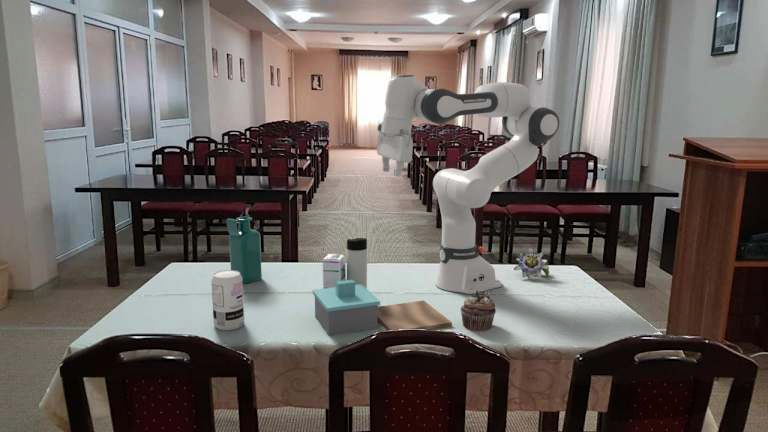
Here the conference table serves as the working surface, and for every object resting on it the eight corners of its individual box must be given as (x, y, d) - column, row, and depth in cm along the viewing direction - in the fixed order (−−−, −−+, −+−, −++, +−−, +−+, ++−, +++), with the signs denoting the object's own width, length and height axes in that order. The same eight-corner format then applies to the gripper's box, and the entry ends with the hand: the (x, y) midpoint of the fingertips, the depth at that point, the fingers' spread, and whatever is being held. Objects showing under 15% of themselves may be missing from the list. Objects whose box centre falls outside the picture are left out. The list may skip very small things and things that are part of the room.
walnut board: (423, 304, 178) (423, 300, 177) (451, 326, 161) (451, 322, 161) (369, 311, 171) (369, 307, 171) (392, 335, 155) (392, 331, 155)
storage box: (360, 310, 172) (360, 288, 171) (377, 328, 160) (377, 304, 158) (315, 316, 167) (314, 293, 166) (328, 335, 154) (328, 310, 153)
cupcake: (490, 318, 167) (492, 286, 165) (497, 332, 158) (499, 298, 155) (457, 318, 167) (458, 286, 165) (463, 332, 157) (464, 298, 155)
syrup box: (341, 305, 176) (341, 259, 173) (322, 303, 177) (322, 258, 174) (346, 298, 182) (346, 254, 179) (328, 297, 183) (327, 253, 180)
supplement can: (217, 320, 164) (214, 269, 161) (246, 319, 165) (244, 269, 161) (211, 331, 156) (208, 279, 153) (242, 331, 157) (239, 278, 153)
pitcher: (247, 273, 205) (245, 213, 200) (264, 278, 200) (262, 216, 195) (225, 280, 197) (222, 218, 192) (242, 286, 192) (239, 221, 187)
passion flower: (529, 293, 204) (512, 269, 200) (522, 278, 214) (506, 254, 210) (557, 278, 201) (541, 252, 197) (549, 263, 211) (533, 238, 207)
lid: (361, 290, 172) (361, 271, 170) (379, 308, 158) (380, 287, 157) (312, 296, 166) (312, 276, 165) (327, 315, 153) (326, 293, 151)
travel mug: (352, 304, 177) (352, 241, 173) (343, 297, 183) (343, 236, 178) (370, 301, 180) (370, 239, 175) (361, 294, 185) (361, 234, 181)
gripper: (420, 132, 166) (414, 179, 169) (393, 127, 185) (388, 169, 188) (400, 130, 164) (394, 178, 167) (375, 125, 183) (370, 168, 185)
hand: (391, 173), depth 177 cm, fingers open, 8 cm apart
